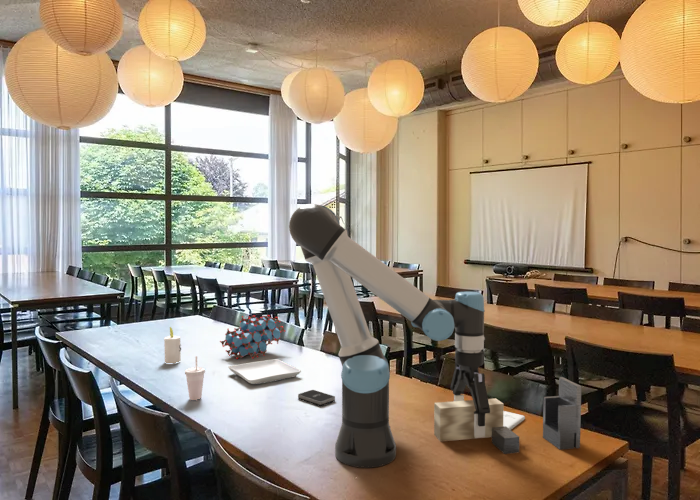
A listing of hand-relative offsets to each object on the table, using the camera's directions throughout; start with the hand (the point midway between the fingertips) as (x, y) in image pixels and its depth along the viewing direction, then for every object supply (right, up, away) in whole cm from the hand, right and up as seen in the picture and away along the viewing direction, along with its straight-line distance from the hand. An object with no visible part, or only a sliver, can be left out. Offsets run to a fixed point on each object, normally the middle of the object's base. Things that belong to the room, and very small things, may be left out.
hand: (468, 427), depth 140 cm
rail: (0, -2, 0) cm, 2 cm away
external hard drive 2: (+12, -3, +10) cm, 16 cm away
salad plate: (-65, 0, +56) cm, 85 cm away
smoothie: (-83, -1, +30) cm, 88 cm away
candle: (-106, +1, +75) cm, 130 cm away
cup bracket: (+22, -2, -5) cm, 23 cm away
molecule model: (-75, +1, +88) cm, 115 cm away
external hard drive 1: (-43, -2, +29) cm, 52 cm away
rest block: (+8, -3, -8) cm, 11 cm away
